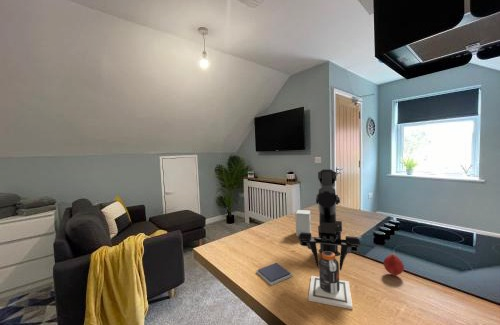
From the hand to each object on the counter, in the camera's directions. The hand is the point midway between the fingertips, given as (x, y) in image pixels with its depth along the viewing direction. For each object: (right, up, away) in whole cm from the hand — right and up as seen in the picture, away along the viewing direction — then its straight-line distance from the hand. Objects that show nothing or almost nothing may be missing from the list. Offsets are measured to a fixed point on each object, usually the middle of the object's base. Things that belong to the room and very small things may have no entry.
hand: (328, 268), depth 65 cm
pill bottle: (+1, -7, +2) cm, 8 cm away
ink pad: (-16, -9, +13) cm, 22 cm away
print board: (+1, -8, +2) cm, 8 cm away
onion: (+26, -7, +8) cm, 28 cm away
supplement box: (+5, -6, +48) cm, 49 cm away
